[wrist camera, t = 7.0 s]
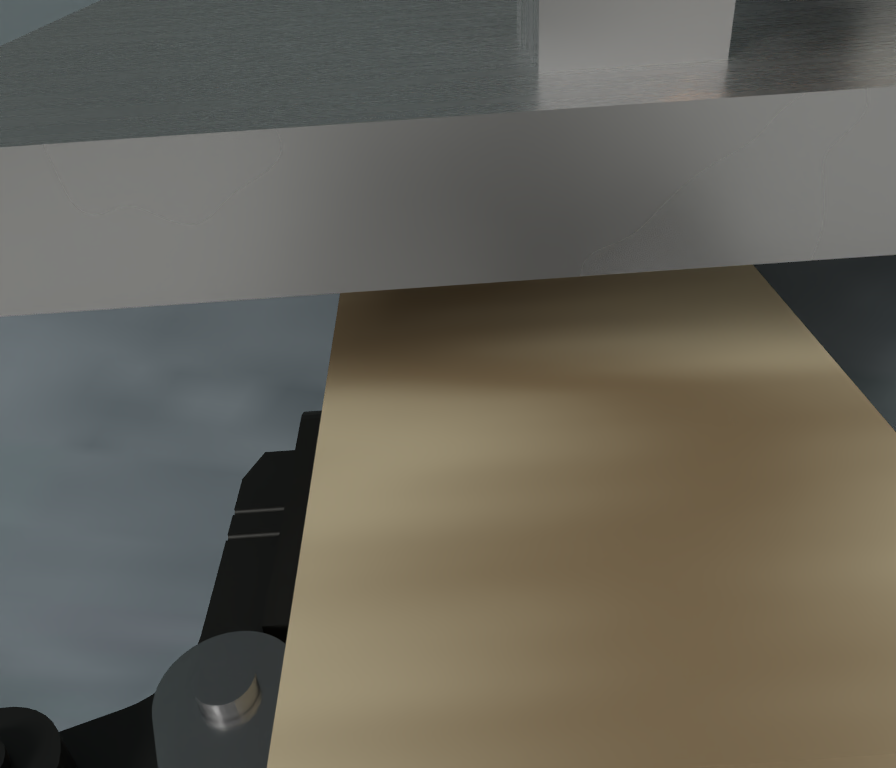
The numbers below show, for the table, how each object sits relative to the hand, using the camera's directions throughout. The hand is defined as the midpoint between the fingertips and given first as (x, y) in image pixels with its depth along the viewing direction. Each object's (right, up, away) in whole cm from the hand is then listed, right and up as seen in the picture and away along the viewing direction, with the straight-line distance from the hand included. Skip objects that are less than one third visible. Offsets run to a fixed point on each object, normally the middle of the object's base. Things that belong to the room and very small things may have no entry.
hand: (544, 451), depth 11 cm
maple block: (0, +1, +1) cm, 1 cm away
